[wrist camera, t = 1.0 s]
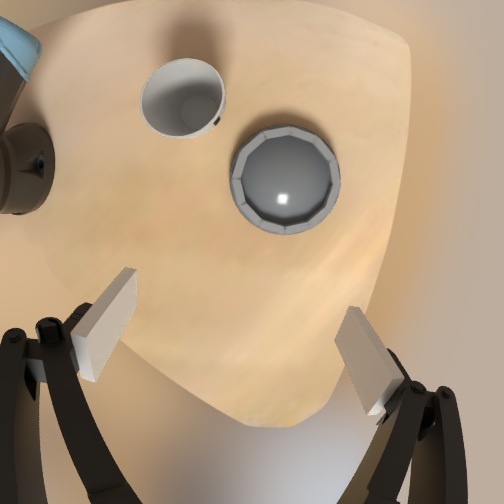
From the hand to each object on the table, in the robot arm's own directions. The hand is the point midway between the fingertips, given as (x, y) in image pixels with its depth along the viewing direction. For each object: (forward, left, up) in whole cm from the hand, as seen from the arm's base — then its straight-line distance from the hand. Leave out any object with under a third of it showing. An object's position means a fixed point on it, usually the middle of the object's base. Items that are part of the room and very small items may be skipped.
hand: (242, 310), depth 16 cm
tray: (-1, +8, -21) cm, 23 cm away
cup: (-15, +6, -21) cm, 27 cm away
